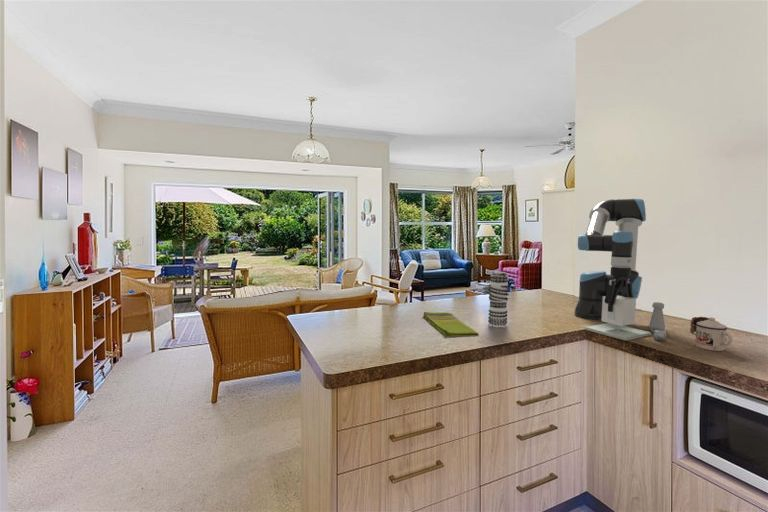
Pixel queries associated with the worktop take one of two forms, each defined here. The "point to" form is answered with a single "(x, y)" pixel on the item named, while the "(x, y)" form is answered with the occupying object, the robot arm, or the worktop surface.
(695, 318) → the pottery mug
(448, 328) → the dish towel
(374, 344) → the worktop surface
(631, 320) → the white block
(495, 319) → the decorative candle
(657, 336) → the cylinder
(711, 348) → the teacup with lid
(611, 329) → the board
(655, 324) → the salt shaker
